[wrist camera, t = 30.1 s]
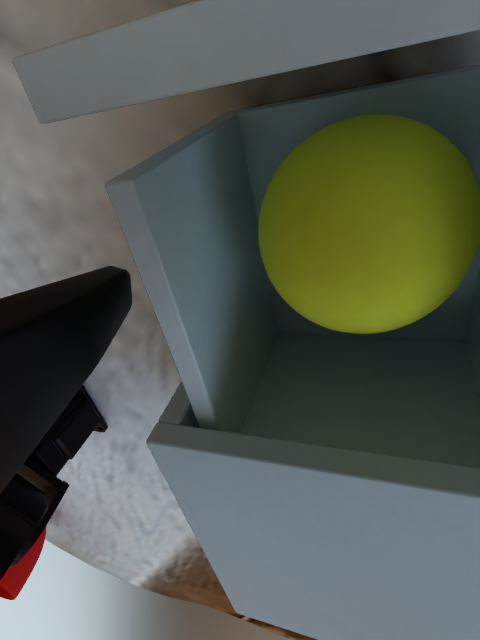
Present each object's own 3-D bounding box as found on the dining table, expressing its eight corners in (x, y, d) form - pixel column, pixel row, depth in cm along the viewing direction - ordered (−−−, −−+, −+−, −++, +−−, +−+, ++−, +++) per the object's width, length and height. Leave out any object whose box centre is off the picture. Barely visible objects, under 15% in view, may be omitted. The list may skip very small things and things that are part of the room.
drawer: (183, -7, 14) (-27, -22, 7) (612, -146, 9) (1132, -531, 3) (257, 330, 22) (194, 470, 15) (502, 339, 18) (562, 540, 11)
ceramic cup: (78, 502, 50) (21, 588, 42) (59, 532, 61) (11, 605, 54) (-12, 449, 49) (-87, 528, 41) (-15, 490, 60) (-74, 558, 53)
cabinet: (242, 277, 21) (144, 441, 13) (527, 272, 16) (646, 526, 8) (281, 447, 29) (235, 613, 21) (478, 477, 25) (513, 703, 17)
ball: (268, 346, 15) (271, 340, 9) (251, 188, 16) (242, 75, 9) (437, 328, 15) (566, 309, 8) (413, 167, 15) (516, 36, 9)
